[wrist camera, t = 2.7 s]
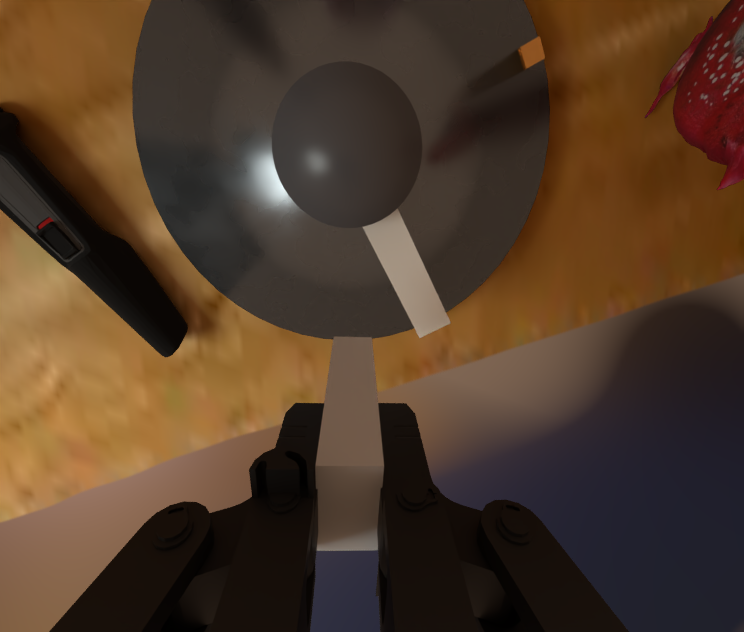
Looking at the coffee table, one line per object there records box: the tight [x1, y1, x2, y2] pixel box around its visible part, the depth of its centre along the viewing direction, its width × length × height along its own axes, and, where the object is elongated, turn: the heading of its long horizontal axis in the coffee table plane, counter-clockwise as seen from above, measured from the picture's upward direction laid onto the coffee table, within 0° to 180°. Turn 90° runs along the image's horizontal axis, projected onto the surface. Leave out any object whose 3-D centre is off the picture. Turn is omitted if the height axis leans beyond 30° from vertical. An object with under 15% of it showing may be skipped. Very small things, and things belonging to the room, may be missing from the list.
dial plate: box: [133, 0, 550, 339], centre depth 19 cm, size 22×22×2 cm
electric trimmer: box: [0, 108, 188, 357], centre depth 20 cm, size 4×16×3 cm, turn 31°
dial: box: [272, 61, 451, 338], centre depth 17 cm, size 12×6×5 cm, turn 27°
